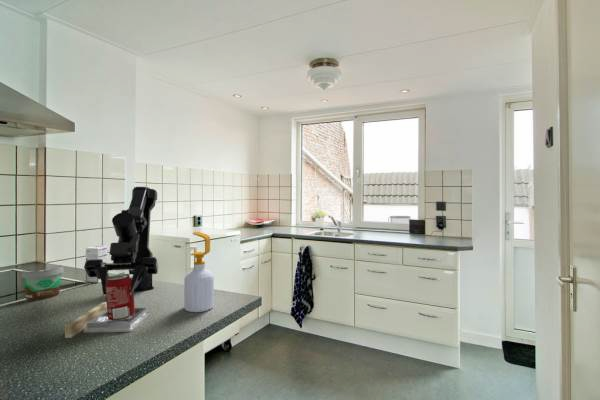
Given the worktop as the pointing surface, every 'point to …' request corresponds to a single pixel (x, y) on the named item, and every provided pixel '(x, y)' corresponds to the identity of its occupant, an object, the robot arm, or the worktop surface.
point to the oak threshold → (84, 320)
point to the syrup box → (95, 253)
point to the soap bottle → (199, 283)
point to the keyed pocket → (116, 322)
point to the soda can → (119, 297)
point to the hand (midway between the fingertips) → (117, 293)
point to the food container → (42, 283)
